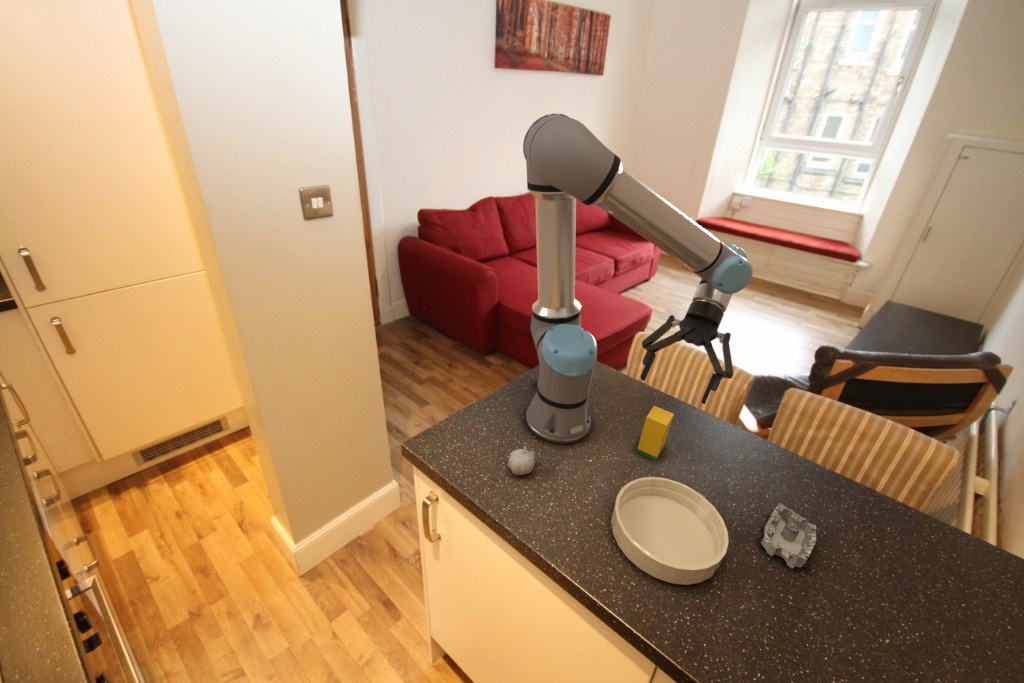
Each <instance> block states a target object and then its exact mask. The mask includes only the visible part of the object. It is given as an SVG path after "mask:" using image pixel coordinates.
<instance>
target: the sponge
mask: <svg viewBox="0 0 1024 683" xmlns="http://www.w3.org/2000/svg"><path fill="white" fill-rule="evenodd" d="M674 416H675V413H674V412H671V411H668V410H665V409H663V408H660V407H659V406H656V405H653V406H652V408H651V409H650V411H649V412H648V414H647V415H646V417H645V421H644V424H643V427H642V431H641V433H640V434H641V435H640V437H639V442H638V444H637V449H636V453H637V454H640V455H642V456H644V457H647V458H649V459H651V460H652V461H655V462H657V460H658V459H659V457H660V455H661V453H662V451H663V449H664V446H665V443H666V440H667V437H668V434H669V431H670V428H671V425H672V422H673V419H674Z"/></svg>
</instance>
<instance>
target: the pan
mask: <svg viewBox="0 0 1024 683" xmlns="http://www.w3.org/2000/svg"><path fill="white" fill-rule="evenodd" d="M610 524H611V530H612V535H613V537H614V539H615V541H616V544H617V545H618V547H619V549H620V550H621V551H622V553H623V554H624V555H625V557H626V558H627V559H628V560H629V561H630V562H631V563H633V564H634V565H635V566H636V567H637V568H638V569H639V570H641V571H642V572H644V573H646V574H648V575H650V576H651V577H653V578H655V579H658V580H660V581H664V582H666V583H670V584H675V585H682V586H683V585H684V586H687V585H688V586H689V585H693V584H700V583H703V582H704V581H706V580H709V579H710V578H712V577H713V576H714V574H715V573H717V571H718V570H719V568H720V566H721V565H722V562H723V560H724V558H725V556H726V554H727V551H728V548H729V543H730V542H729V541H730V540H729V530H728V528H727V525H726V524H725V521H724V519H723V517H722V516H721V514H720V512H719V510H717V508H716V507H715V506H714V505H713V504H712V503H711V502H710V501H709V499H706V497H704V495H703V494H701V493H699V492H697V491H696V489H693V488H692V487H690V486H687V485H685V484H683V483H681V482H679V481H676V480H673V479H669V478H664V477H656V476H647V477H639V478H637V479H634V480H631V481H629V482H627V483H626V484H625V485H624V486H623V487H622V488H621V489H620V491H619V492H618V494H617V496H616V497H615V502H614V505H613V508H612V513H611V519H610Z"/></svg>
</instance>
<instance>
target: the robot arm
mask: <svg viewBox="0 0 1024 683" xmlns="http://www.w3.org/2000/svg"><path fill="white" fill-rule="evenodd" d="M522 151H523V155H524V159H525V162H526V163H525V164H526V165H525V166H526V185H527V186H526V187H527V188H526V190H527V192H529V193H530V194H531V195H532V196H533V197H534V210H535V238H536V239H535V240H536V241H535V243H536V245H535V246H536V272H537V274H536V275H537V299H536V300H535V302H533V303H532V305H531V316H532V317H531V320H530V334H531V336H532V340H533V343H534V348H535V350H536V351H535V352H536V356H537V359H538V364H539V370H538V371H539V372H538V379H537V381H534V382H533V383H534V386H535V388H536V392H535V394H534V396H533V398H532V399H531V402H530V404H529V405H528V407H527V409H526V412H525V424H526V427H527V428H528V430H529V431H530V432H531V433H532V435H534V436H535V437H536V438H538V439H540V440H542V441H544V442H547V443H551V444H555V445H571V444H576V443H578V442H580V441H583V440H584V439H585V438H586V437H587V436H588V434H589V432H590V430H591V424H592V423H591V422H592V421H591V419H592V418H591V412H590V408H589V407H590V406H589V403H588V402H589V401H588V398H589V393H590V389H591V384H592V379H593V375H594V370H595V365H596V362H597V359H598V357H597V356H598V344H597V341H596V339H595V337H594V335H593V334H592V333H590V331H588V330H585V329H584V328H583V327H582V305H581V303H580V301H578V300H577V299H576V240H577V239H576V238H577V237H576V234H577V233H576V232H577V226H576V225H577V219H576V218H577V200H578V201H579V202H581V203H582V204H583V205H585V206H586V207H592V206H595V205H596V206H597V207H598V208H600V209H602V210H603V211H604V212H606V213H607V214H609V215H610V216H612V217H613V218H614V219H615V220H617V221H619V222H620V223H622V224H623V225H625V226H626V227H628V228H629V229H631V230H632V231H634V232H635V233H637V235H639V236H641V237H642V238H643V239H645V240H647V241H648V242H649V243H650V244H653V246H655V247H656V248H658V249H660V250H661V251H663V252H664V253H665V254H667V255H668V256H669V257H671V258H672V259H674V260H676V261H677V262H678V263H680V264H681V265H683V267H686V268H687V269H689V270H690V271H691V272H693V273H694V274H695V275H696V276H698V277H699V278H701V279H700V282H699V283H698V286H697V288H696V291H695V293H694V295H693V298H692V302H691V303H690V304H689V306H688V309H687V311H686V313H685V316H684V317H683V319H682V320H680V319H678V318H676V317H675V315H673V314H670V315H669V316H668V318H667V320H666V321H665V322H664V323H663V324H661V325H660V326H659V327H658V328H657V329H655V330H654V331H653V332H652V333H651V334H649V335H648V336H647V337H646V338H645V339H643V340H642V341H641V346H642V348H643V349H644V350H645V351H646V352H645V354H644V356H643V358H642V365H643V366H644V368H643V370H642V372H641V374H640V379H641V381H643V382H645V381H646V379H647V377H648V374H649V372H650V370H651V368H652V366H653V363H654V361H655V359H656V357H657V355H656V353H657V352H659V351H661V350H663V349H665V348H667V347H669V346H672V345H673V344H675V343H678V342H681V341H684V342H685V343H686V344H692V345H694V346H696V347H703V348H704V351H705V352H706V354H707V356H708V359H709V361H710V364H711V365H712V368H713V371H714V372H713V373H712V375H711V377H710V379H709V382H708V384H707V387H706V389H705V391H704V393H703V396H702V399H701V402H700V403H701V404H703V405H706V403H707V400H708V398H709V396H710V393H711V391H713V392H717V391H718V388H719V386H720V384H721V382H722V380H723V379H729V380H730V379H732V378H733V377H734V366H733V361H732V354H731V347H730V340H731V336H732V334H731V333H730V332H725V333H724V332H723V333H722V332H719V331H718V330H719V328H720V325H721V324H722V320H723V317H724V315H725V312H726V310H727V309H728V307H729V305H730V304H729V303H730V301H731V299H732V296H733V294H736V293H739V292H740V291H742V290H743V289H745V288H746V287H747V286H748V285H749V283H750V282H751V280H752V278H753V273H754V272H753V271H754V269H753V266H752V264H751V262H750V261H749V260H747V259H748V254H747V252H746V251H745V249H743V248H742V247H740V246H736V244H734V243H733V244H732V243H724V242H722V240H719V239H718V238H717V237H715V236H714V235H713V234H712V233H711V232H709V231H708V230H706V229H705V228H704V227H702V226H701V225H699V224H698V223H697V222H696V221H694V220H693V219H692V218H690V217H689V216H687V214H685V213H684V212H683V211H681V210H680V209H678V208H677V207H675V205H673V204H672V203H670V202H669V201H668V200H667V199H665V198H664V197H662V196H661V195H659V193H657V192H656V191H655V190H653V189H652V188H650V187H649V186H648V185H646V184H645V183H644V182H642V181H641V180H639V179H638V178H637V177H636V176H634V175H633V174H632V173H630V172H629V171H628V170H626V169H625V168H624V167H623V163H622V158H620V157H619V156H618V155H617V154H615V153H614V152H613V151H611V150H610V149H609V148H608V147H607V146H606V145H605V144H604V142H602V141H601V140H600V139H599V138H598V137H597V136H596V135H594V133H593V132H592V131H591V130H590V129H589V128H588V127H587V126H586V125H584V123H582V122H581V121H579V120H577V119H575V118H573V117H570V116H568V115H566V114H564V113H563V114H562V113H554V112H553V113H550V114H549V113H548V114H545V115H542V116H540V117H539V118H537V119H536V120H534V121H533V122H532V123H531V125H530V126H529V127H528V128H527V131H526V133H525V136H524V138H523V143H522ZM677 326H679V330H678V331H676V332H675V333H673V334H671V335H669V336H667V337H665V338H662V337H663V336H664V335H665V334H667V333H668V332H670V330H671V329H673V328H676V327H677ZM661 338H662V339H661ZM659 339H661V340H659ZM716 339H718V341H719V343H720V344H722V345H721V346H722V356H723V363H724V369H725V370H723V367H722V365H721V363H720V360H719V358H718V355H717V353H716V351H715V349H714V347H713V343H712V341H715V340H716ZM658 340H659V341H658Z"/></svg>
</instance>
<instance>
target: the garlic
mask: <svg viewBox="0 0 1024 683" xmlns="http://www.w3.org/2000/svg"><path fill="white" fill-rule="evenodd" d="M527 447H528V446H527V445H524V446H523V448H519V449H514V450H512V451H511V452H510V456H509V458H508V462H507V465H508V468H509V469H510V470H511V473H512V474H513V475H515V476H523V475H529V474H530V473H531V472H532V471H533V469H534V466H535V464H536V461H535V459H536V455H535V453H534V452H533V451H532V450H531V451H530V450H528V449H527Z"/></svg>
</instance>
